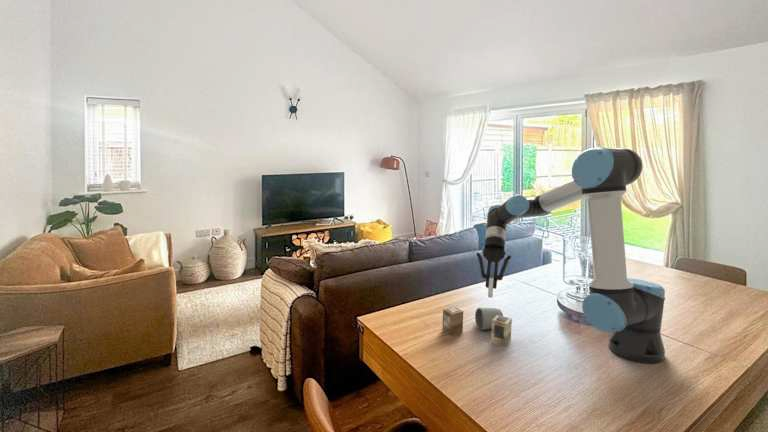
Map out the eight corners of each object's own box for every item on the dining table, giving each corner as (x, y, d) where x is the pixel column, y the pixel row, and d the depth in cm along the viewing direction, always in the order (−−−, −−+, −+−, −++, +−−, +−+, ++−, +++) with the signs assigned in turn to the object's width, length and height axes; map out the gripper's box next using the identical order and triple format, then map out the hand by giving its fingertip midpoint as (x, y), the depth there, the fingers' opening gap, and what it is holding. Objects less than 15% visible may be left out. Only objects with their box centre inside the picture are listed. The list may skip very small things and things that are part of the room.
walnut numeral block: (462, 332, 140) (463, 310, 138) (451, 336, 137) (451, 313, 136) (453, 327, 144) (453, 306, 143) (441, 330, 141) (442, 308, 140)
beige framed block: (510, 340, 134) (511, 317, 132) (505, 347, 129) (507, 323, 128) (496, 337, 136) (497, 314, 135) (490, 343, 132) (491, 319, 131)
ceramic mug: (504, 331, 141) (505, 310, 140) (483, 333, 139) (483, 312, 138) (490, 319, 151) (491, 300, 150) (470, 321, 149) (471, 302, 148)
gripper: (512, 246, 156) (509, 302, 143) (478, 244, 160) (472, 298, 147) (512, 236, 150) (509, 293, 137) (477, 234, 154) (471, 289, 141)
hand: (490, 295), depth 142 cm, fingers closed
